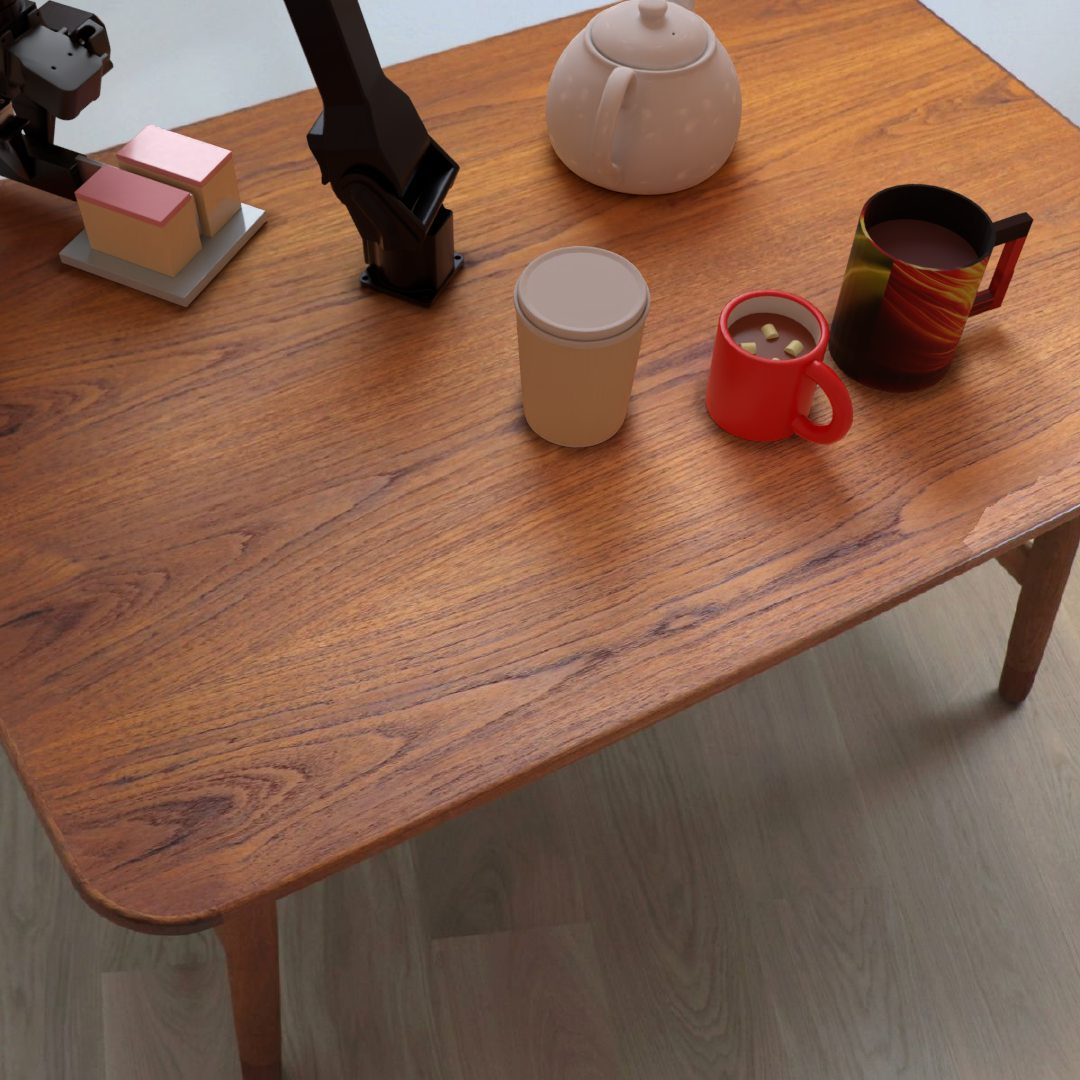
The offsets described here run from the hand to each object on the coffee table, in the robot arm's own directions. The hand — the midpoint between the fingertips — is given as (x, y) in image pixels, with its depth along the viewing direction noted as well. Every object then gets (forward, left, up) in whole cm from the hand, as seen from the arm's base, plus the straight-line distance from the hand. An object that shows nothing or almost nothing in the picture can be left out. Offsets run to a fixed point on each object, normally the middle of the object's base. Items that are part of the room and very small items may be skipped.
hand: (36, 169), depth 113 cm
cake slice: (-12, +3, -2) cm, 13 cm away
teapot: (-42, -29, -3) cm, 52 cm away
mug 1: (-64, -3, -3) cm, 65 cm away
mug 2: (-70, -16, -3) cm, 72 cm away
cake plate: (-12, 0, -3) cm, 13 cm away
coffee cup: (-50, +3, -3) cm, 51 cm away
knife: (-6, 0, -1) cm, 6 cm away
